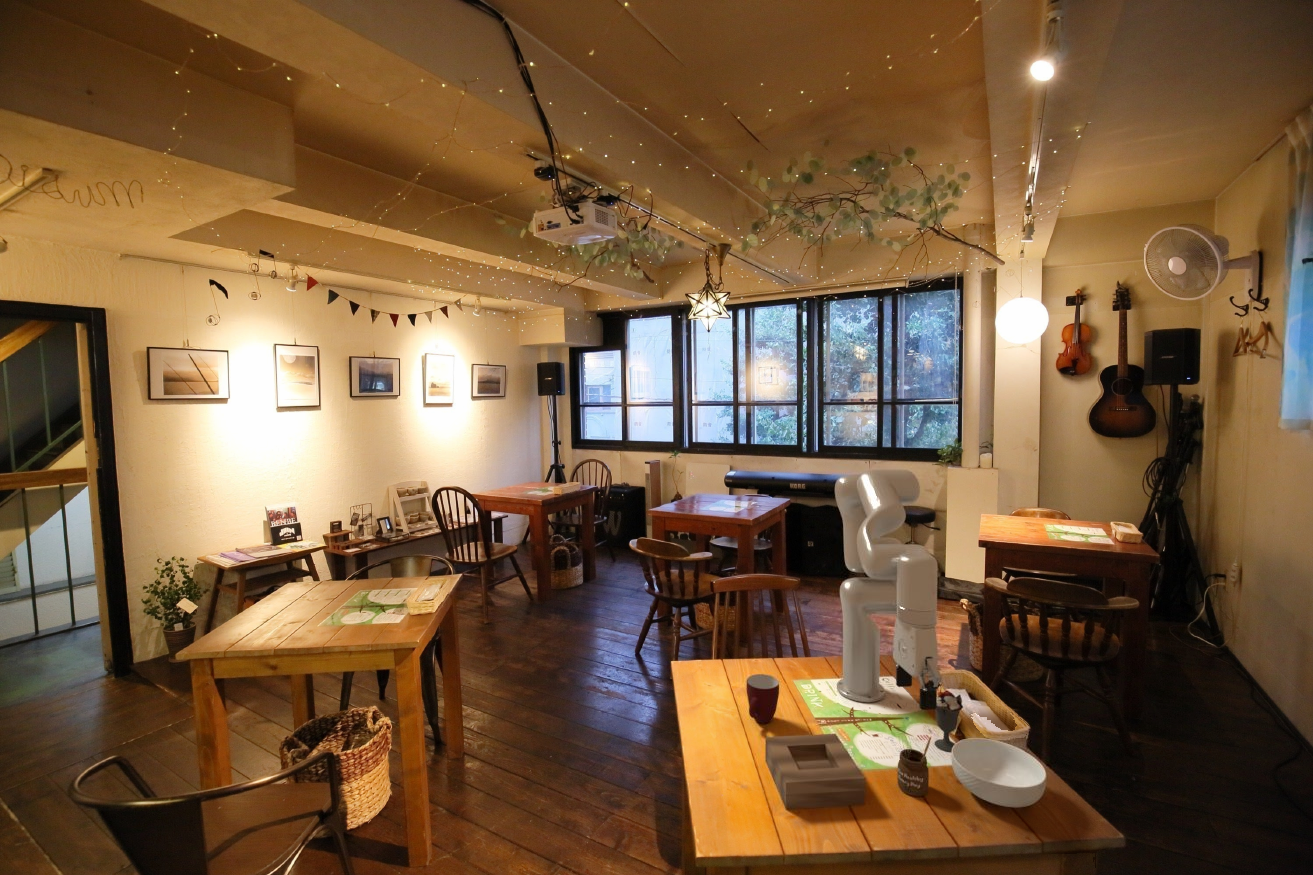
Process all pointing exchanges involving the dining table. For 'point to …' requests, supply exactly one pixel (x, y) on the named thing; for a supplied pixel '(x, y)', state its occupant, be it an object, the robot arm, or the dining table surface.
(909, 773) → the utensil holder
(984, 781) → the cereal bowl
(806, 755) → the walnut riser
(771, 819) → the dining table surface
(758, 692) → the mug
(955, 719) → the sundae
